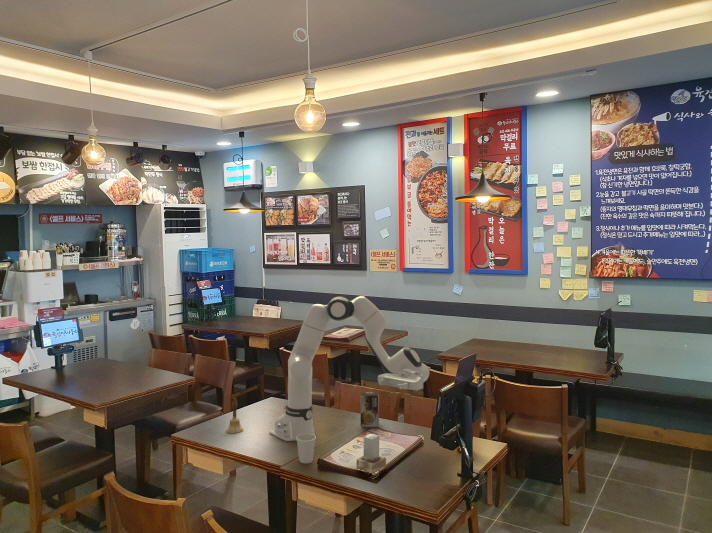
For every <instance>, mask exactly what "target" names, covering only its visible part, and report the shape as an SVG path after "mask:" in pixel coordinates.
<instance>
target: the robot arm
mask: <svg viewBox="0 0 712 533" xmlns="http://www.w3.org/2000/svg"><path fill="white" fill-rule="evenodd" d="M351 317H353V318H354V319H356V321H357V322H358V323H359V324H360V326H361V327H362V328H363V330H364V333H365V336H364V338H365V341H366V343H367V345H368V347H369V349H370V350H371V351H372V353H373V355H374V356H375V357H376V359H377V361H378V363H379V364H380V366H381V369H382V370H383V372H384V373H382V374H379V375H378V376H377V383H378V384H379V386H390V387H396V388H397V389H399V390H402V389H403V390H412V391H419V390H423V389H424V383H425V382H426V381H428V379H429V376H430V368H429V366H428V365H426V364H425V363H424V362H422V359H421V357H420V354H419V353H418V352H417V350H416V349H414V348H412V347H410V346H404V347H403V348H401V349H400V350H399V351H397V352H396V353H395V354H393V355H392V356H390V355H389V354H388V353H387V351H386V350H385V348H384V347H383V345H382V343H381V335H382V334H383V332H384V330H385V327H386V318H385V316H384V314H383V313H382V312H381V310H380V309H379V308H378V307H377V306H376V305H375V304H374V303H373V302H372V301H370V300H369V299H368V298H367V297H366V296H364V295H359V296H357V297H355V298H353V299H352V300H349V299H348V298H347V297H344V296H336V297H333V298H332V299H330V300H329V301H328V303H326V304H320V303H315V304H312V305H311V306H310V308H309V309H308V311H307V313H306V315H305V317H304V320H303V321H302V324H301V327H300V330H299V333H298V335H297V338H296V340H295V342H294V345H293V347H292V349H291V352H290V355H289V357H288V360H287V367H288V368H287V371H288V372H287V373H288V376H287V378H288V379H287V380H288V381H287V382H288V385H287V386H288V387H287V399H288V400H287V405H285V407H283V410H285V411H284V413H283V414H282V415H280V416H279V417H278V418H277V419H276V420H275V422H274V427H273V428H271V429H270V430H269V434H270V435H272V436H274V437H276V438H279V439H281V440H283V441H285V442H291V441H292V442H293V441H297V439H296V437H297V436H298V435H300V434H313V435H315V436H316V434H315V429H314V423H313V422H314V421H313V404H312V403H313V402H312V401H313V400H312V397H313V396H312V395H313V394H312V387H313V361H314V358H315V356H316V353H317V351H318V349H319V347H320V346H321V343H322V339H323V337H324V335H325V332H326V329H327V326H328V323H329V322H330V321H331V320H333V321H338V322H341V321H344V320H347V319H349V318H351Z"/></svg>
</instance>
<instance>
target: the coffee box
mask: <svg viewBox="0 0 712 533" xmlns="http://www.w3.org/2000/svg"><path fill="white" fill-rule="evenodd" d="M379 394H380V393H379V391H378V392H377V391H361V392H360V396H359V397H360V398H359V399H360V428H363V427H364V428H379V426H380V415H379V414H380V409H379V408H380V405H379V404H380V398H379V396H380V395H379Z"/></svg>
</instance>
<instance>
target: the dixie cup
mask: <svg viewBox="0 0 712 533" xmlns="http://www.w3.org/2000/svg"><path fill="white" fill-rule="evenodd" d="M296 439H297V440H296V443H297V446H296V447H297V453H298V462H300V464H311V463H312V462H313V461H314V454H315V453H314V452H315V446H316V439H317V436H316V434H315V435H313V434H300V435H298V436H297V437H296Z"/></svg>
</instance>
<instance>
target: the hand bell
mask: <svg viewBox="0 0 712 533" xmlns="http://www.w3.org/2000/svg"><path fill="white" fill-rule="evenodd" d="M231 409H232V418H231V419H229V425H228V427H227V428H226V429H225V430H226V431H225V432H226V433H228V434H238V433H241V432H243V431H244V427H243V426H242V425H241V423H240V421H241V420H240V418H238V417H237V409H238V400H237V397H233V398H232V402H231Z"/></svg>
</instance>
